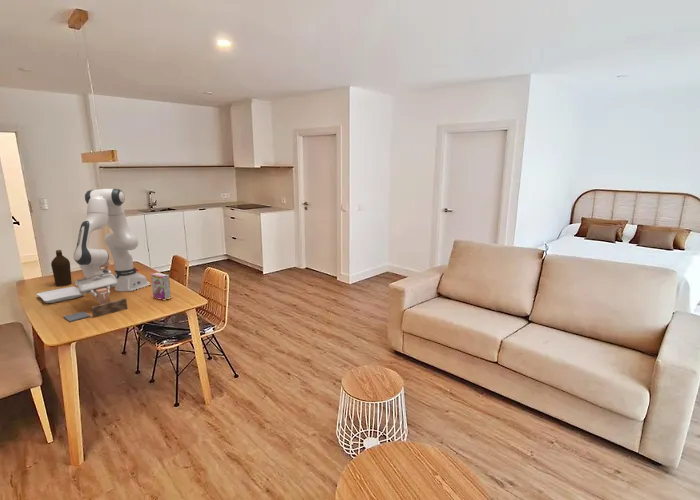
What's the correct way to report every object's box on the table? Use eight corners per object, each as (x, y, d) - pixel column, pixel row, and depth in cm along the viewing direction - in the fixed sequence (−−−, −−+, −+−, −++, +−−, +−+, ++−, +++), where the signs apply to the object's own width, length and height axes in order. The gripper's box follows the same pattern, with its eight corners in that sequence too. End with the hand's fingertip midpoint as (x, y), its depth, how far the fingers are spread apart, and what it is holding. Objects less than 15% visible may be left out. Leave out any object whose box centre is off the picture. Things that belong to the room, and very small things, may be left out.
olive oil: (70, 285, 272) (65, 251, 266) (52, 287, 267) (47, 252, 262) (74, 281, 281) (69, 248, 275) (56, 283, 277) (51, 249, 271)
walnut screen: (125, 307, 235) (124, 298, 233) (127, 308, 233) (126, 299, 232) (92, 316, 221) (91, 306, 219) (94, 317, 220) (92, 307, 218)
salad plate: (74, 290, 264) (74, 285, 263) (85, 297, 251) (85, 292, 250) (36, 298, 248) (35, 293, 247) (45, 306, 235) (44, 301, 234)
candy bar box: (152, 298, 251) (150, 274, 248) (159, 296, 256) (157, 272, 252) (164, 301, 247) (162, 276, 243) (171, 298, 251) (169, 274, 248)
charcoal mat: (83, 312, 226) (83, 311, 226) (90, 316, 220) (90, 315, 220) (63, 317, 218) (63, 316, 218) (69, 322, 213) (69, 320, 212)
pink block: (106, 299, 234) (104, 287, 232) (109, 301, 231) (107, 289, 229) (97, 302, 230) (95, 289, 228) (100, 304, 227) (98, 291, 225)
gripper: (74, 277, 222) (83, 297, 219) (113, 269, 238) (121, 287, 235) (73, 283, 226) (81, 302, 223) (111, 274, 242) (119, 293, 238)
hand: (102, 295), depth 229 cm, fingers closed on pink block, 5 cm apart
